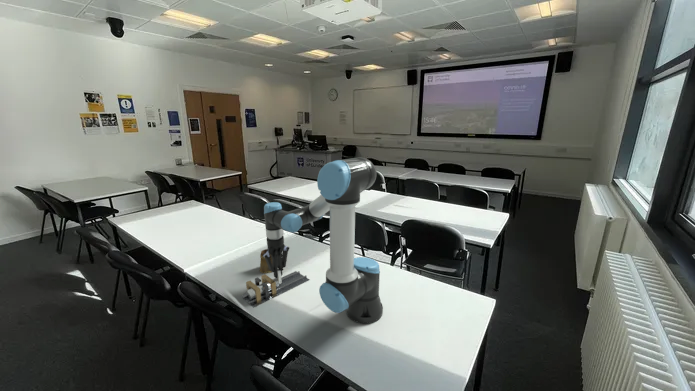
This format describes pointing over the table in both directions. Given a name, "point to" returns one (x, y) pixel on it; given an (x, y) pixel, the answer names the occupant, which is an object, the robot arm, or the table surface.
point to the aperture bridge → (263, 286)
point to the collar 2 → (272, 282)
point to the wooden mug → (264, 263)
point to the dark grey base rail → (280, 287)
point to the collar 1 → (255, 288)
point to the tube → (261, 289)
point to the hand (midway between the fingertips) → (278, 282)
